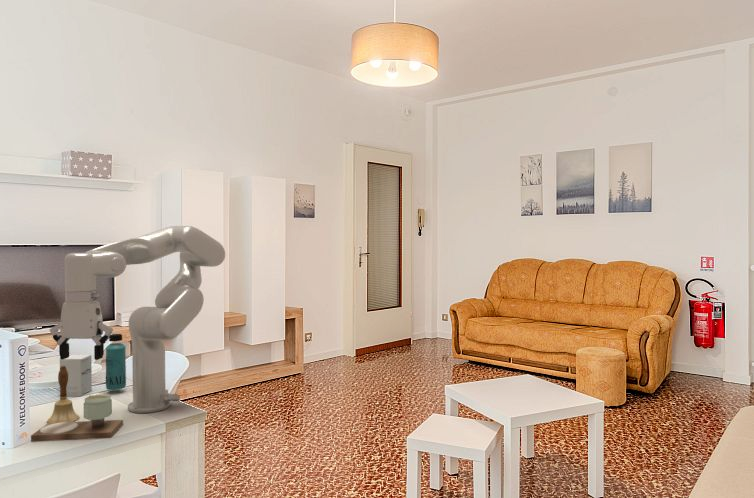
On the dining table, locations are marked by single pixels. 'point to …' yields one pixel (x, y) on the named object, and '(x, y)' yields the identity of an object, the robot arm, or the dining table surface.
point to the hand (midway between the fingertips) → (81, 358)
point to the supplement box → (78, 374)
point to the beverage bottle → (115, 364)
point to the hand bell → (63, 402)
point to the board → (76, 430)
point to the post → (98, 423)
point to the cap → (97, 407)
